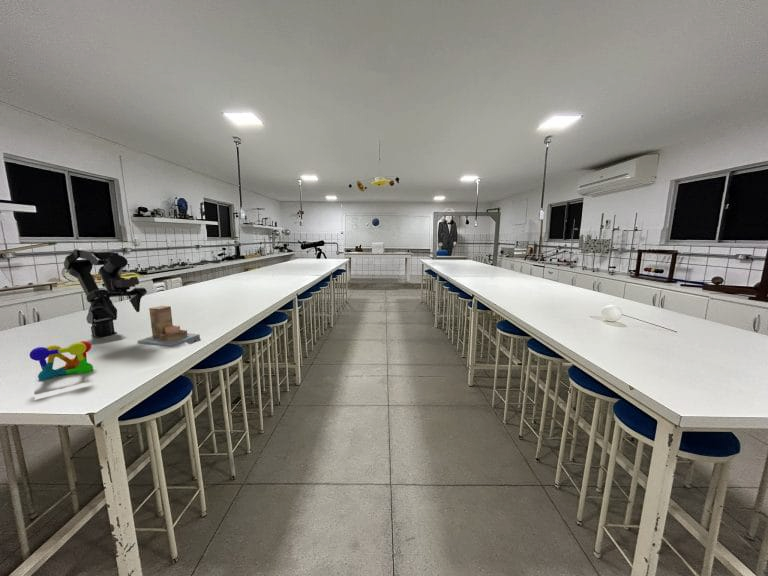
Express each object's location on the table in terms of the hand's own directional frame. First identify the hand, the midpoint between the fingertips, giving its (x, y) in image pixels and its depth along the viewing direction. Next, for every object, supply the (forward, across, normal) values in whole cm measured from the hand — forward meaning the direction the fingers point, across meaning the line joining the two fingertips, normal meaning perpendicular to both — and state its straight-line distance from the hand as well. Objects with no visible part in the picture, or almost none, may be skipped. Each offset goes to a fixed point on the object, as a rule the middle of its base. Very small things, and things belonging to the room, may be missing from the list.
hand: (126, 313), depth 122 cm
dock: (+18, +7, -7) cm, 20 cm away
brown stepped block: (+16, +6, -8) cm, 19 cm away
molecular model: (+21, -26, -5) cm, 34 cm away
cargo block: (+16, +6, -10) cm, 20 cm away
